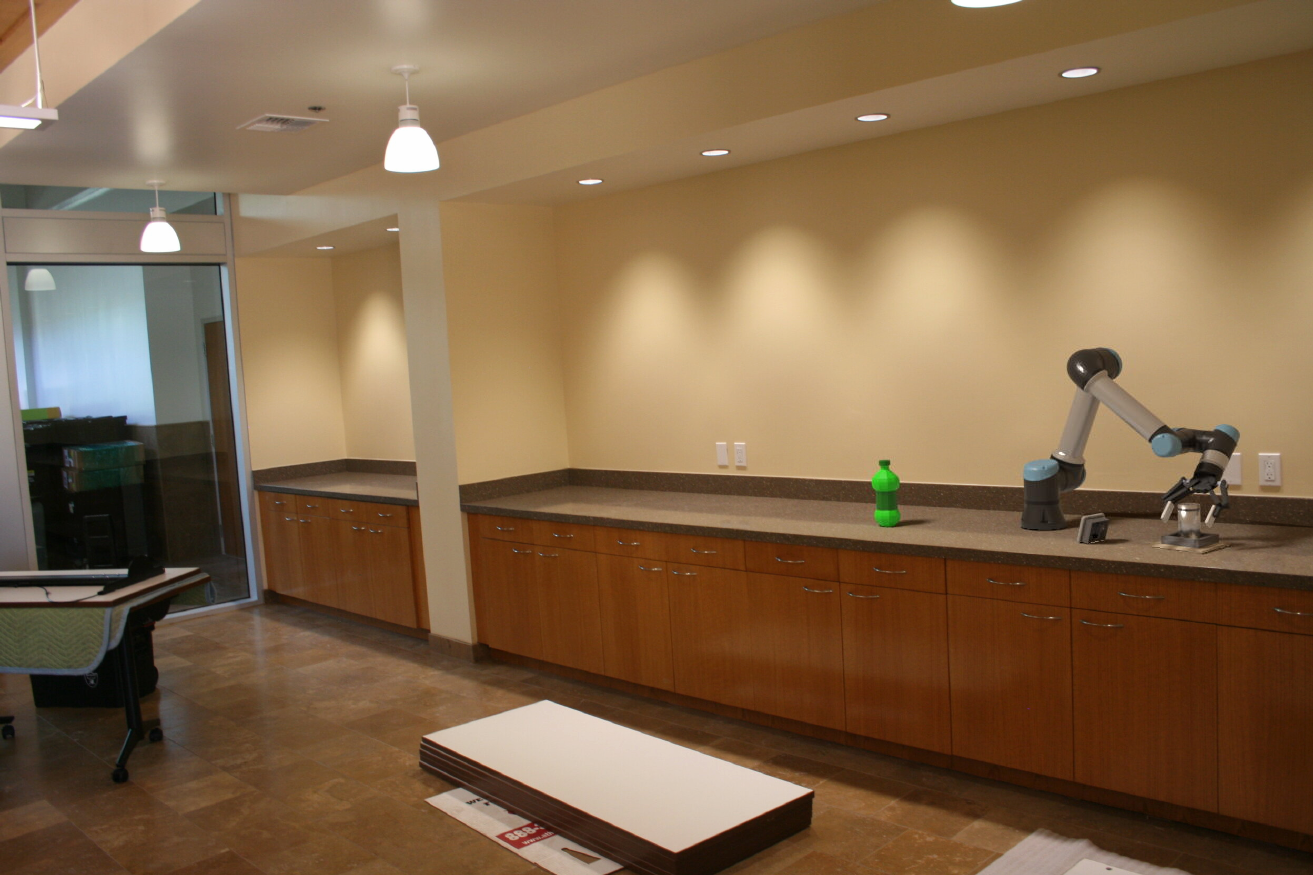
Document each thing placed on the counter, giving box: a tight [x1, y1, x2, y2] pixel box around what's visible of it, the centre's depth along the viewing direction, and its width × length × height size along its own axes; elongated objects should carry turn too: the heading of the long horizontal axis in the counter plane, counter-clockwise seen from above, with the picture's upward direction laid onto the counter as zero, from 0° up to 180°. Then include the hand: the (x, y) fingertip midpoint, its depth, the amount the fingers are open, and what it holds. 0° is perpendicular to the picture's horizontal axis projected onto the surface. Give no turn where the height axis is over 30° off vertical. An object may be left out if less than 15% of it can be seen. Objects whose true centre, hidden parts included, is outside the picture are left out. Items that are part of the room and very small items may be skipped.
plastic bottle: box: [871, 459, 902, 528], centre depth 363 cm, size 10×10×25 cm
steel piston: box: [1176, 502, 1202, 539], centre depth 294 cm, size 6×6×12 cm
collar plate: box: [1149, 531, 1232, 552], centre depth 294 cm, size 16×16×4 cm
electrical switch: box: [1076, 512, 1110, 545], centre depth 309 cm, size 9×5×9 cm, turn 113°
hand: (1185, 522), depth 292 cm, fingers open, 13 cm apart
